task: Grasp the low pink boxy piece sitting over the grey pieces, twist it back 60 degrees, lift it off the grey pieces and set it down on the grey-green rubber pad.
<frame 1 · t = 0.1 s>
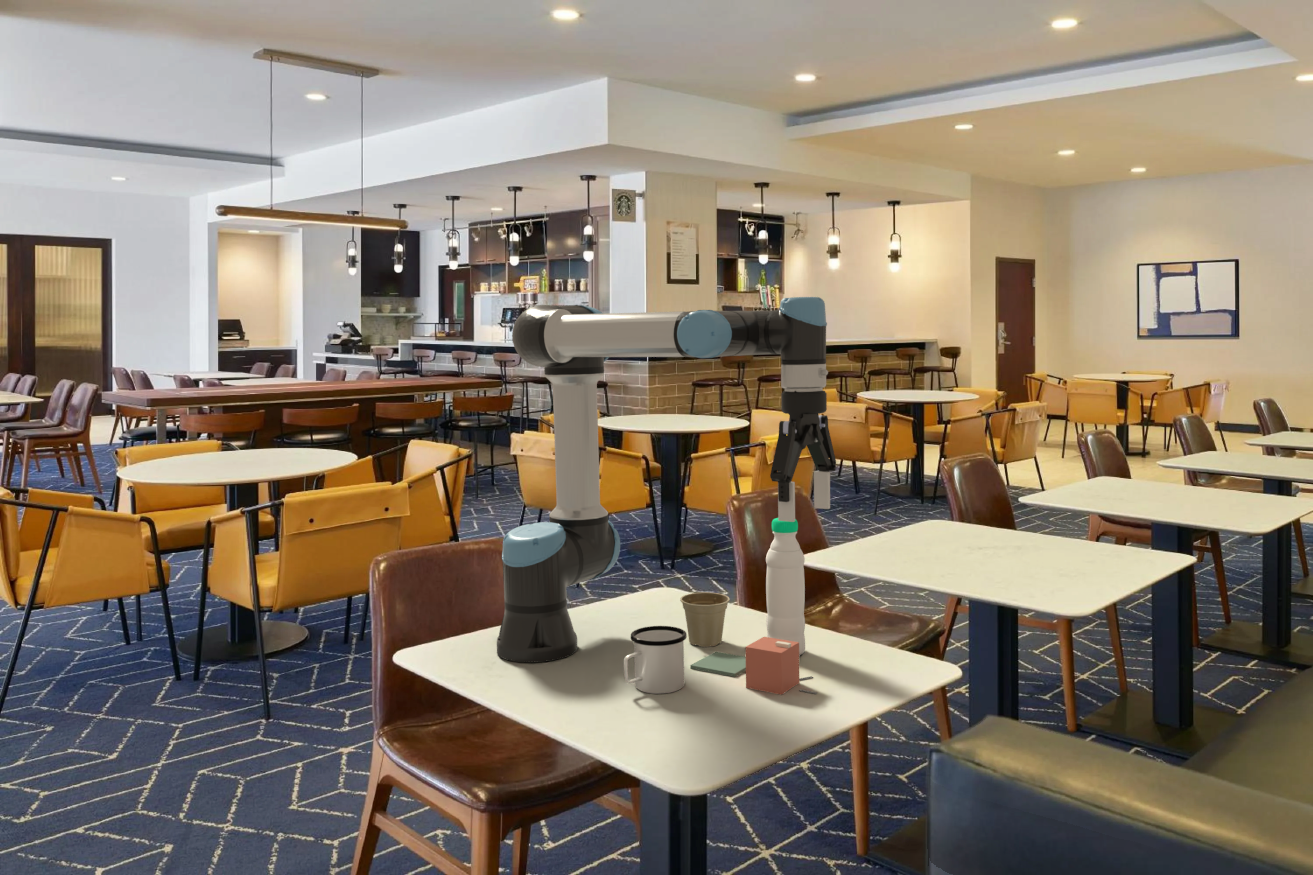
hand: (805, 514, 175), 28 cm above the table, fingers open, 13 cm apart
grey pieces: (772, 685, 172), on the table
flower pot: (705, 643, 197), on the table
water bottle: (785, 653, 189), on the table
pad: (725, 665, 183), on the table
pink boxy piece: (772, 685, 172), resting in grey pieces
mug: (653, 688, 172), on the table
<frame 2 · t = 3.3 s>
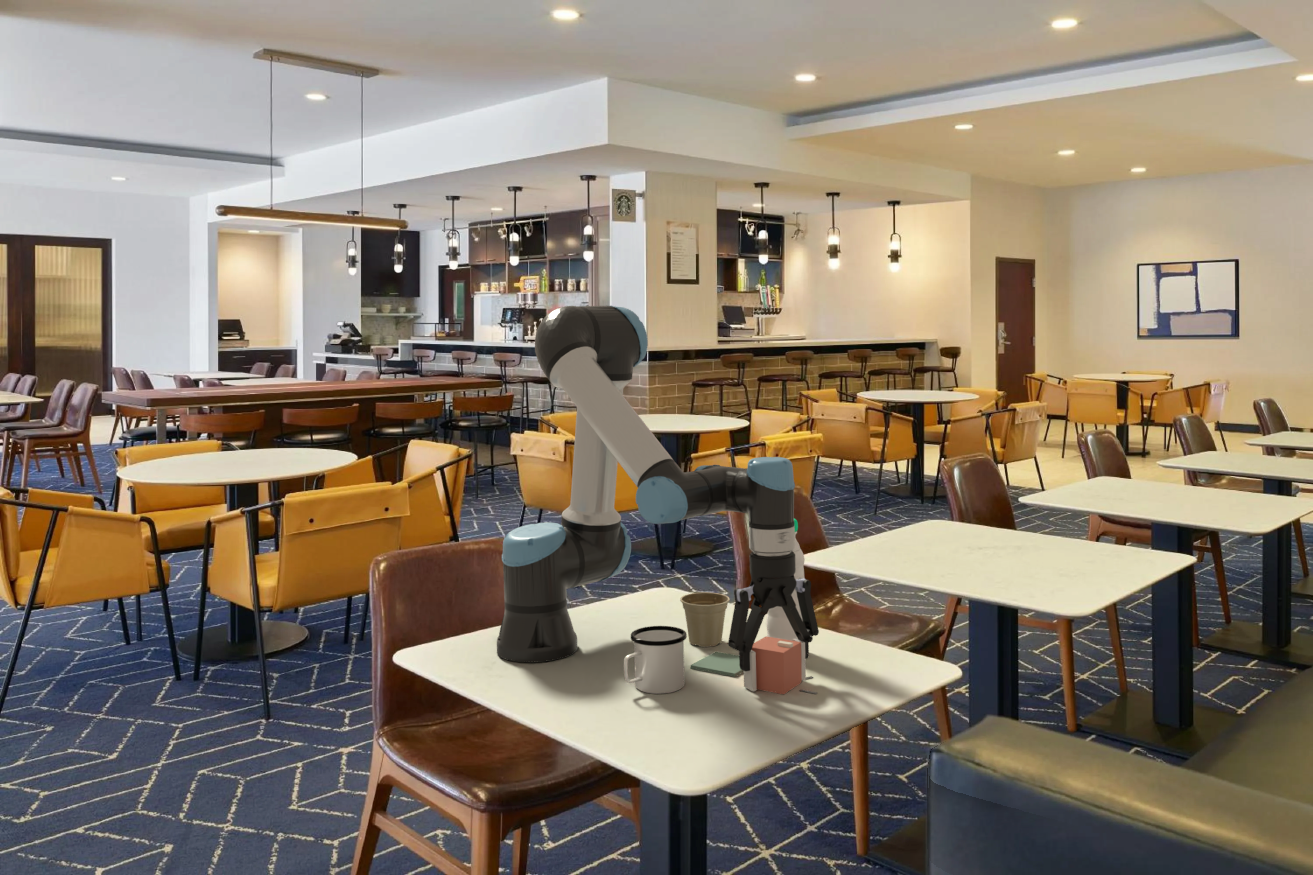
hand: (775, 683, 172), 0 cm above the table, fingers closed on pink boxy piece, 9 cm apart
pink boxy piece: (774, 684, 172), resting in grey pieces, touching gripper
everything else where it was.
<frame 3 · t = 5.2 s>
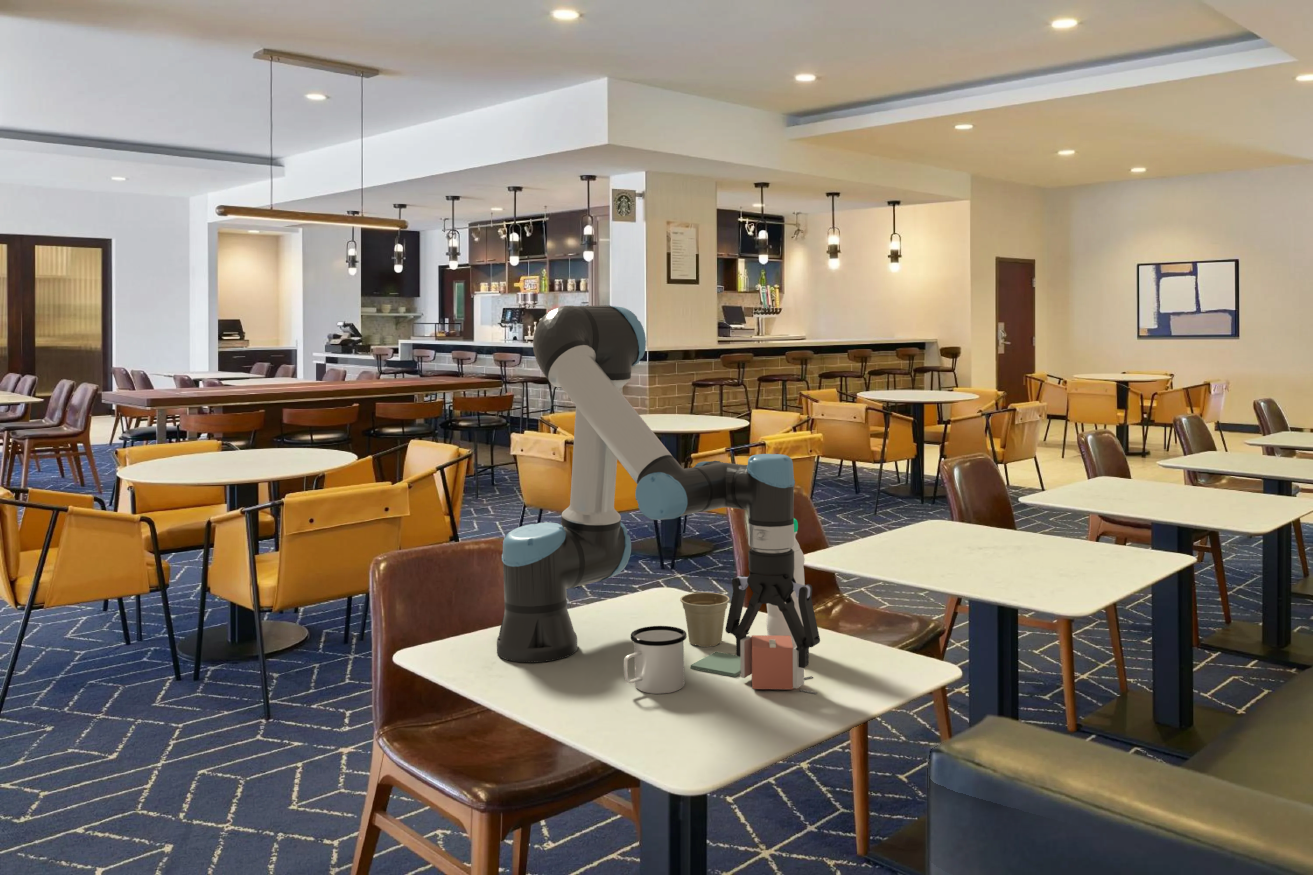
hand: (772, 680, 172), 1 cm above the table, fingers closed on pink boxy piece, 9 cm apart
pink boxy piece: (771, 681, 172), point 1 cm above the table, touching gripper
everything else where it was.
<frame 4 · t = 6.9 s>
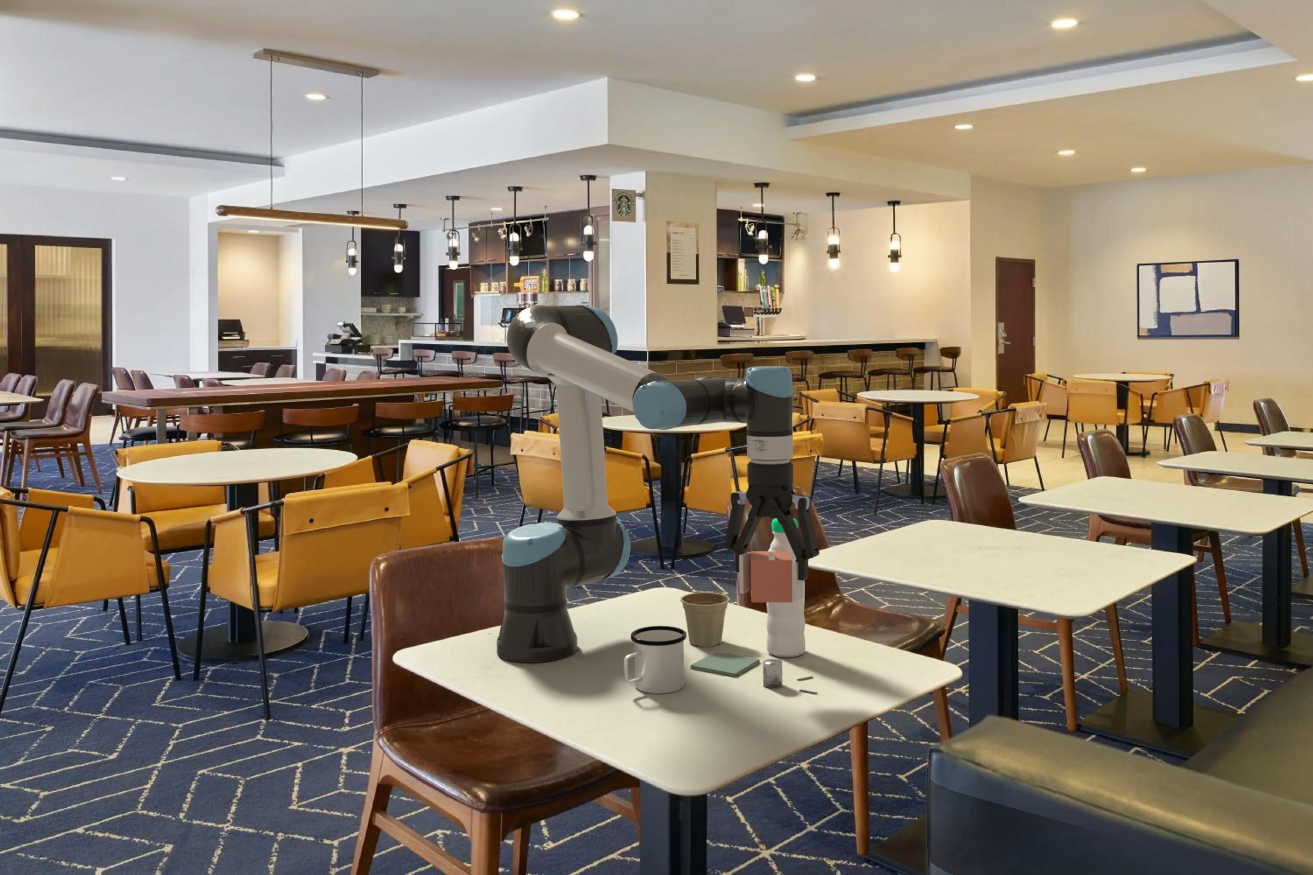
hand: (771, 595, 171), 15 cm above the table, fingers closed on pink boxy piece, 9 cm apart
pink boxy piece: (771, 596, 171), point 15 cm above the table, touching gripper
everything else where it was.
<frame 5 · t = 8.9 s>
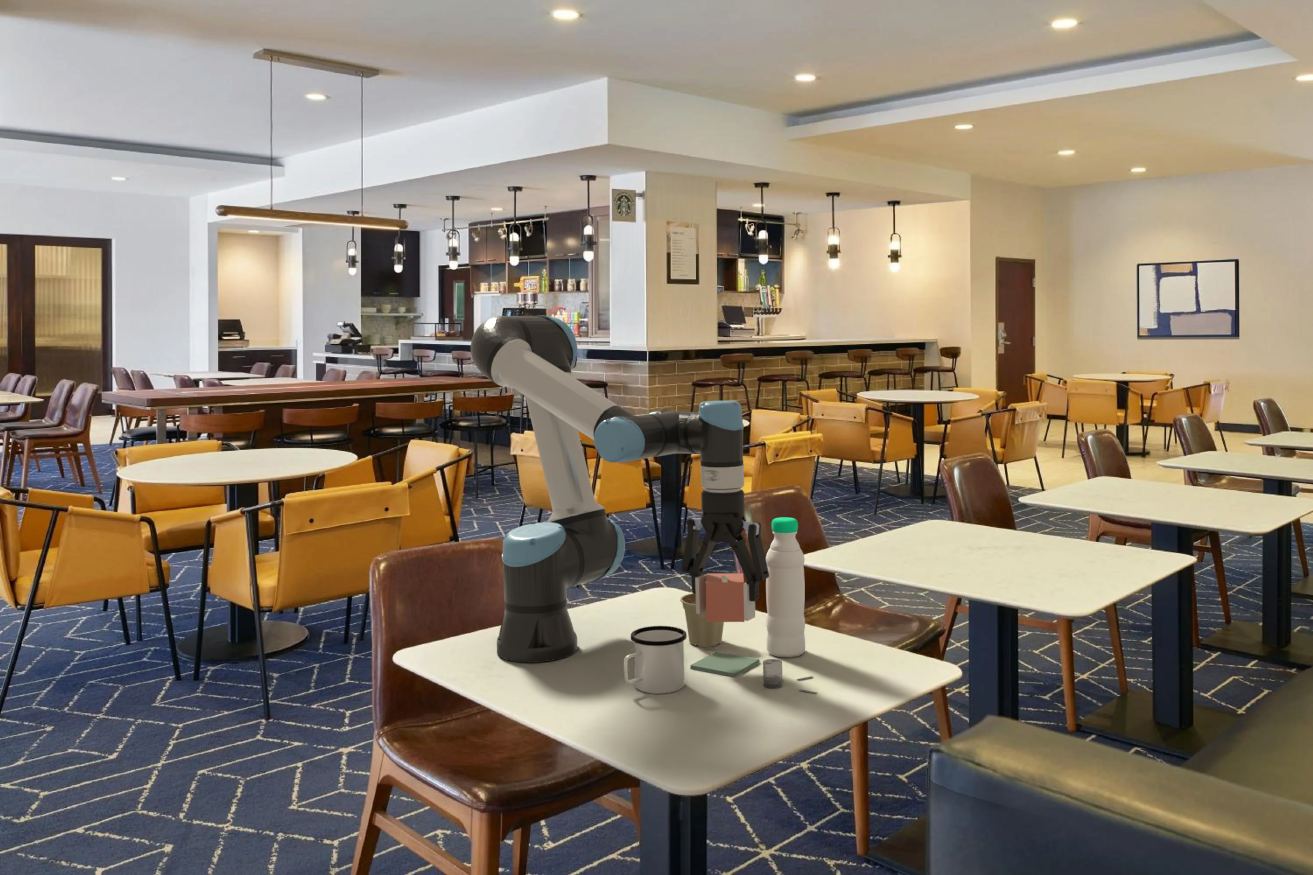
hand: (725, 615, 182), 9 cm above the table, fingers closed on pink boxy piece, 9 cm apart
pink boxy piece: (725, 616, 182), point 9 cm above the table, touching gripper
everything else where it was.
when the fingers open (2 cm above the table, at t = 10.6 s): pink boxy piece drops 2 cm, resting on pad.
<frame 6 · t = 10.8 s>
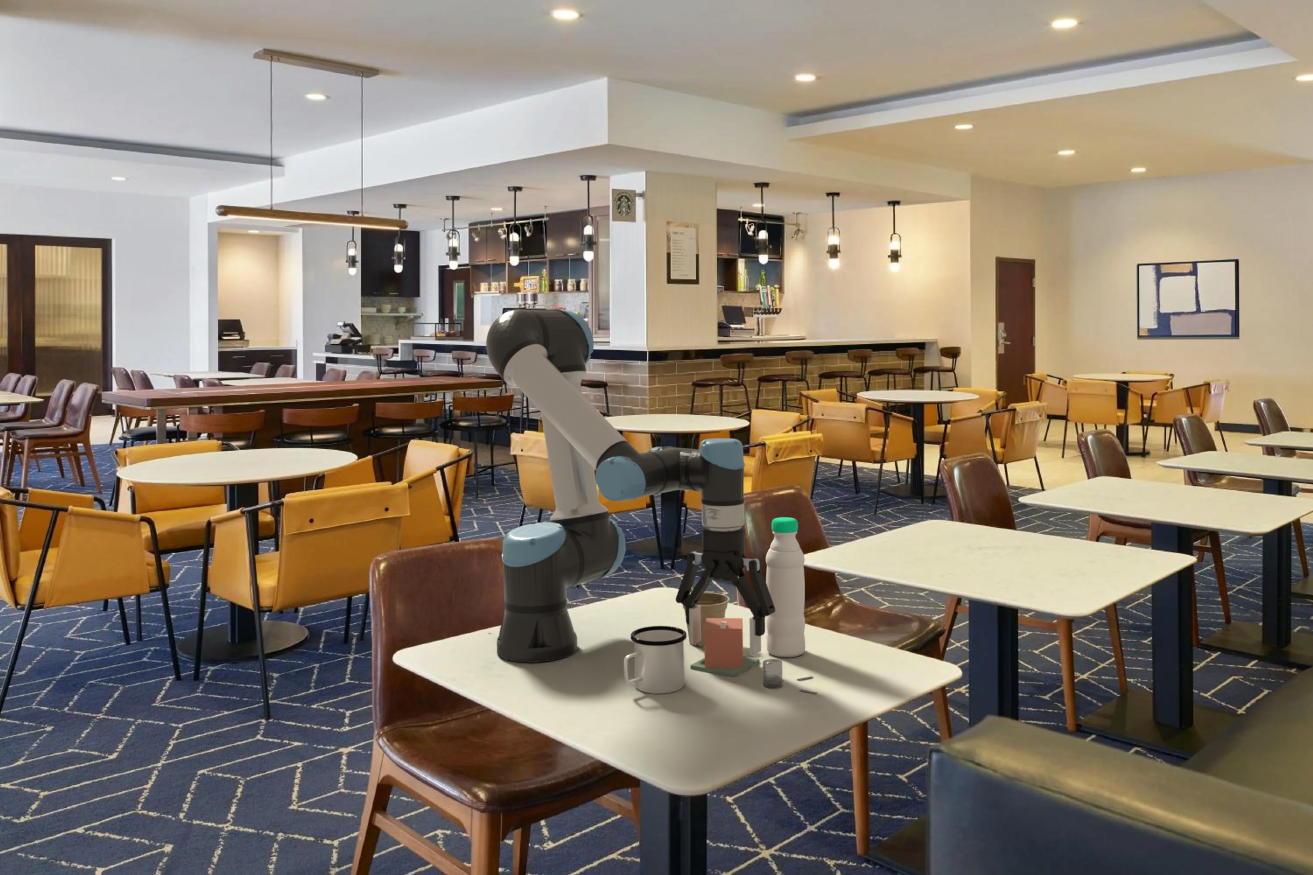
hand: (725, 647, 182), 3 cm above the table, fingers open, 11 cm apart
pink boxy piece: (724, 661, 183), point 1 cm above the table, touching pad
everything else where it was.
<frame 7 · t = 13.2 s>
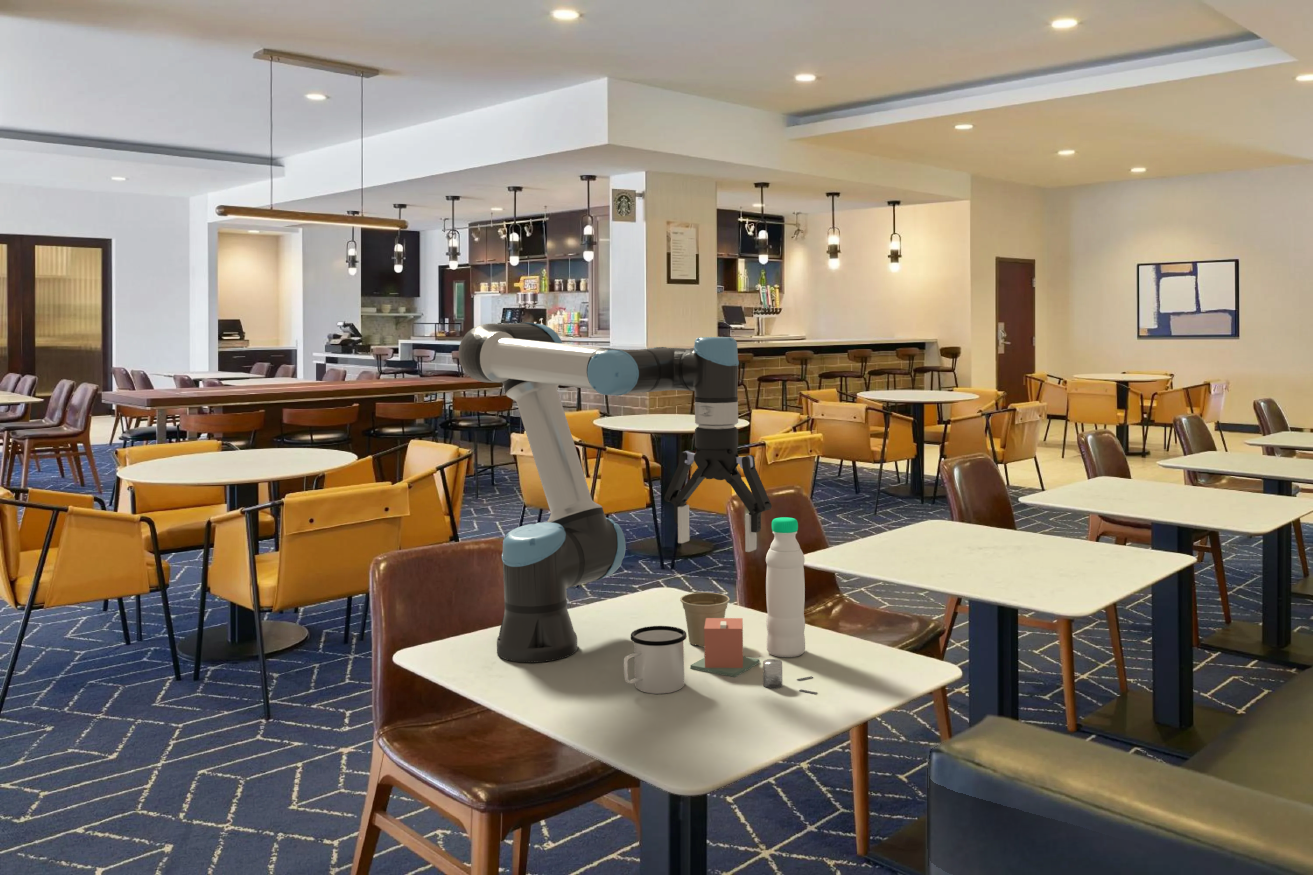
hand: (716, 546, 181), 21 cm above the table, fingers open, 13 cm apart
nothing on the table moved.
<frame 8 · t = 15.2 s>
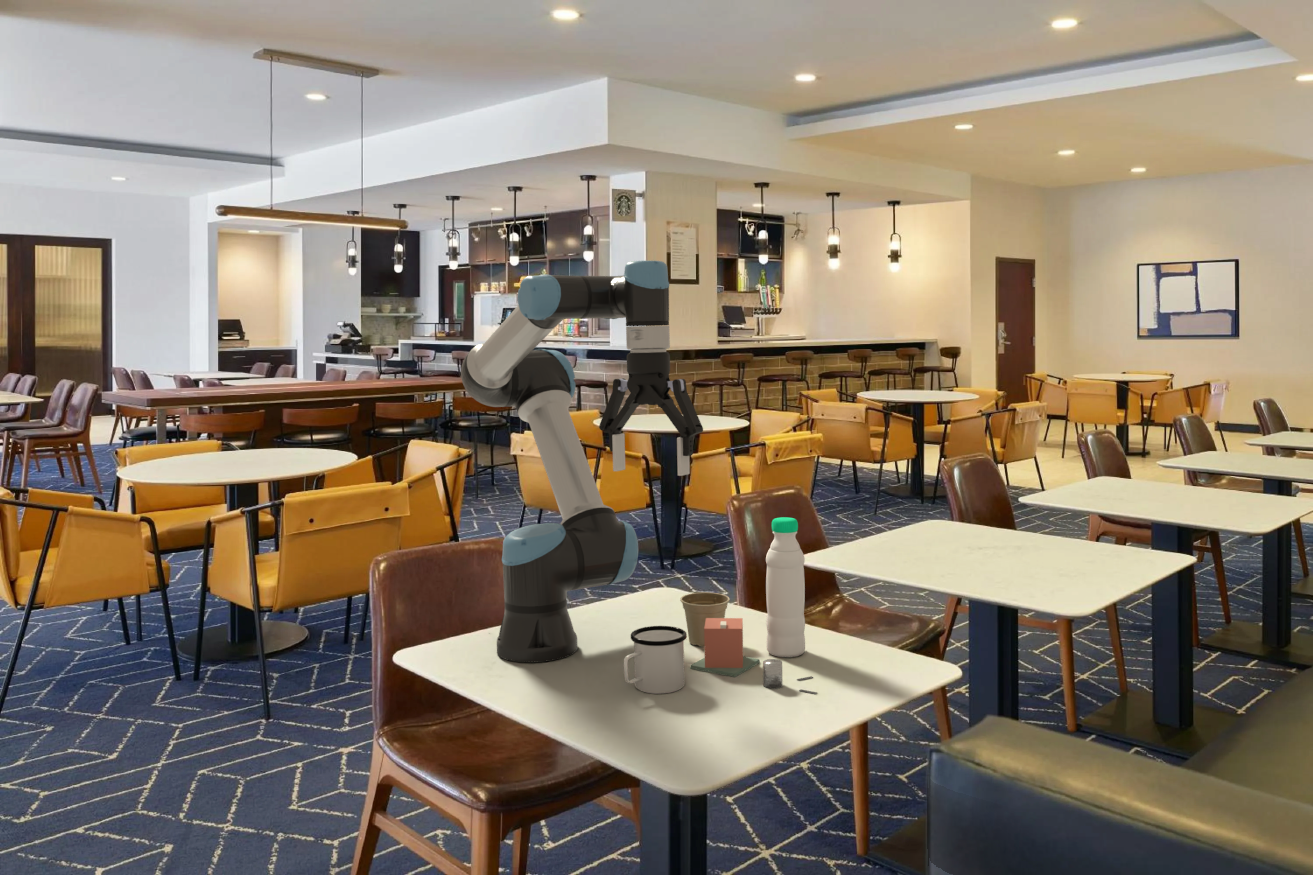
hand: (650, 472, 180), 35 cm above the table, fingers open, 13 cm apart
nothing on the table moved.
at the end: pink boxy piece inside the target area on the pad (0.4 cm from its centre), point 0.6 cm above the pad's base; pink boxy piece tilted 0°; the gripper is holding nothing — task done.
